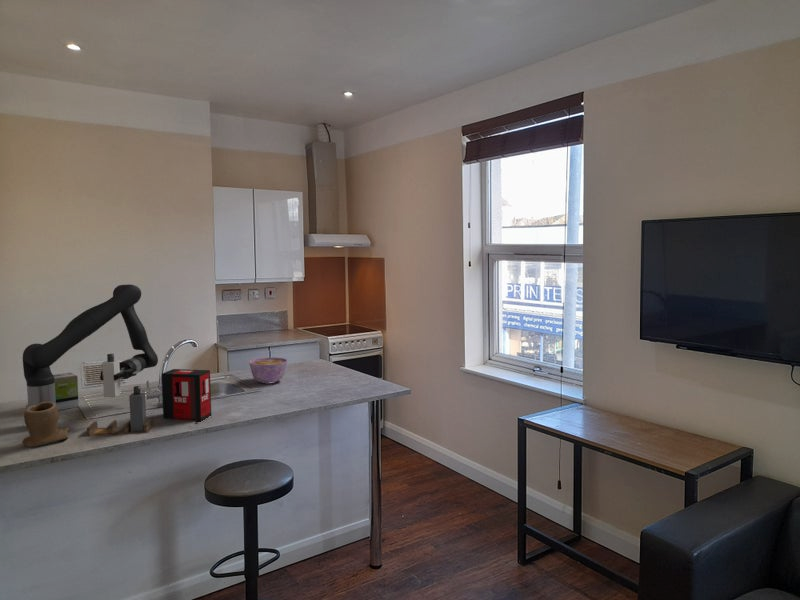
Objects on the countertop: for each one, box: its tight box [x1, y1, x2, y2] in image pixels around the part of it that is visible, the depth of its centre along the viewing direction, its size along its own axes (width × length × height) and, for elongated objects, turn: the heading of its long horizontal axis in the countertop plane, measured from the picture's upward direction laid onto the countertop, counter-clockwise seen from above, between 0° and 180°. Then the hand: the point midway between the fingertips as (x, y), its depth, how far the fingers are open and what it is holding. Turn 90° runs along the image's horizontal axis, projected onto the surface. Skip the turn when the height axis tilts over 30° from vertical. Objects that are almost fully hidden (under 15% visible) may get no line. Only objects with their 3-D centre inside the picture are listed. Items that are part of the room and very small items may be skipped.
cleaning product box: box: [161, 368, 212, 422], centre depth 225 cm, size 16×9×20 cm, turn 82°
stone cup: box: [21, 402, 70, 448], centre depth 197 cm, size 15×12×15 cm
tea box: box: [53, 372, 79, 411], centre depth 239 cm, size 15×10×15 cm, turn 137°
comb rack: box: [84, 417, 155, 438], centre depth 207 cm, size 22×10×4 cm, turn 102°
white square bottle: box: [101, 353, 122, 398], centre depth 217 cm, size 4×4×17 cm
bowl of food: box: [248, 356, 288, 383], centre depth 288 cm, size 20×20×12 cm
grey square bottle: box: [128, 385, 147, 432], centre depth 208 cm, size 4×4×17 cm
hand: (108, 377), depth 214 cm, fingers closed on white square bottle, 4 cm apart
